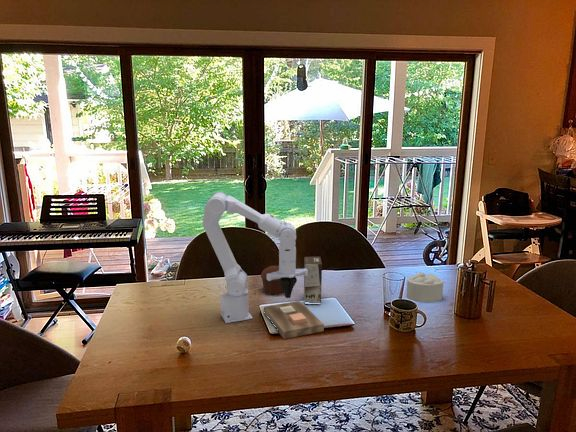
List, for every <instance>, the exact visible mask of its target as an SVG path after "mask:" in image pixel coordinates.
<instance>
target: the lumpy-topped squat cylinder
mask: <svg viewBox="0 0 576 432" xmlns="http://www.w3.org/2000/svg"><path fill="white" fill-rule="evenodd" d="M406 283H407V284H406V296H405V297H406V298H407V299H408V300H410V301H413V302H418V303H437V302H441V301H442V300H443V291H444V280H443V279H441V278H439V277H438V276H436V275H435V274H433V273H429V274H426V273H424V272H421V271H420V272H419V271H418V272H416V274H414V275H412V276H410V277H408V278H407V281H406Z"/></svg>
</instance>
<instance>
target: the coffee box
mask: <svg viewBox="0 0 576 432" xmlns="http://www.w3.org/2000/svg"><path fill="white" fill-rule="evenodd" d="M303 258H304V259H303V265H304V266H303V267H304V268H303V269H305V268H306V269H307V270H308V275H307V276H305V275H303V282H304V283H303V284H304V286H303V297H304V298H303V300H304V303H305V302H309V303H321V304H322V281H323V280H322V277H323V275H322V274H323V273H322V272H323V271H322V269H323V263H322V259H321V258H322V257H321V256H304V257H303Z"/></svg>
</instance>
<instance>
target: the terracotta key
mask: <svg viewBox="0 0 576 432" xmlns="http://www.w3.org/2000/svg"><path fill="white" fill-rule="evenodd" d="M289 321H290V322H291V323H292V324H293V325H297V324H303V323H306V317H305V316H304V315H303V314H302V313H297V314H291V315H289Z"/></svg>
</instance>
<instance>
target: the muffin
mask: <svg viewBox="0 0 576 432" xmlns="http://www.w3.org/2000/svg"><path fill="white" fill-rule="evenodd" d="M276 271H279V265H270V266H268V267H266V268H264V269H263V270H262V272H261V274H260V277H261V281H262V286H263V291H264V292H265V294H267V295H271V296H275V295H276V296H278V295H283V294H284V290H283V287H282V285H281V283H280V281H279V279H273V280H271V281H268V280H267V274H268V273H273V272H276Z"/></svg>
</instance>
